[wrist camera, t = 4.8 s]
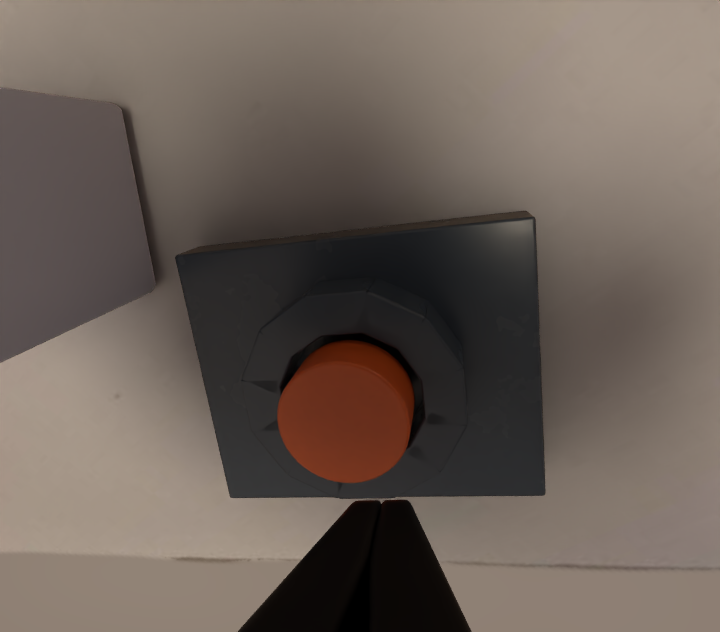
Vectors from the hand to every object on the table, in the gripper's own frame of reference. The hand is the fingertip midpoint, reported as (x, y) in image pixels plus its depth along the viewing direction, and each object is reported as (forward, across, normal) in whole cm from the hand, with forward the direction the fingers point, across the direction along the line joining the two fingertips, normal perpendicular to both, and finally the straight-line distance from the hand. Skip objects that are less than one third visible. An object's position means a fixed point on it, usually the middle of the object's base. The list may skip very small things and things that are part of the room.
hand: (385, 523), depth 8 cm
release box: (+10, +2, +2) cm, 11 cm away
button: (+7, +2, +2) cm, 8 cm away
